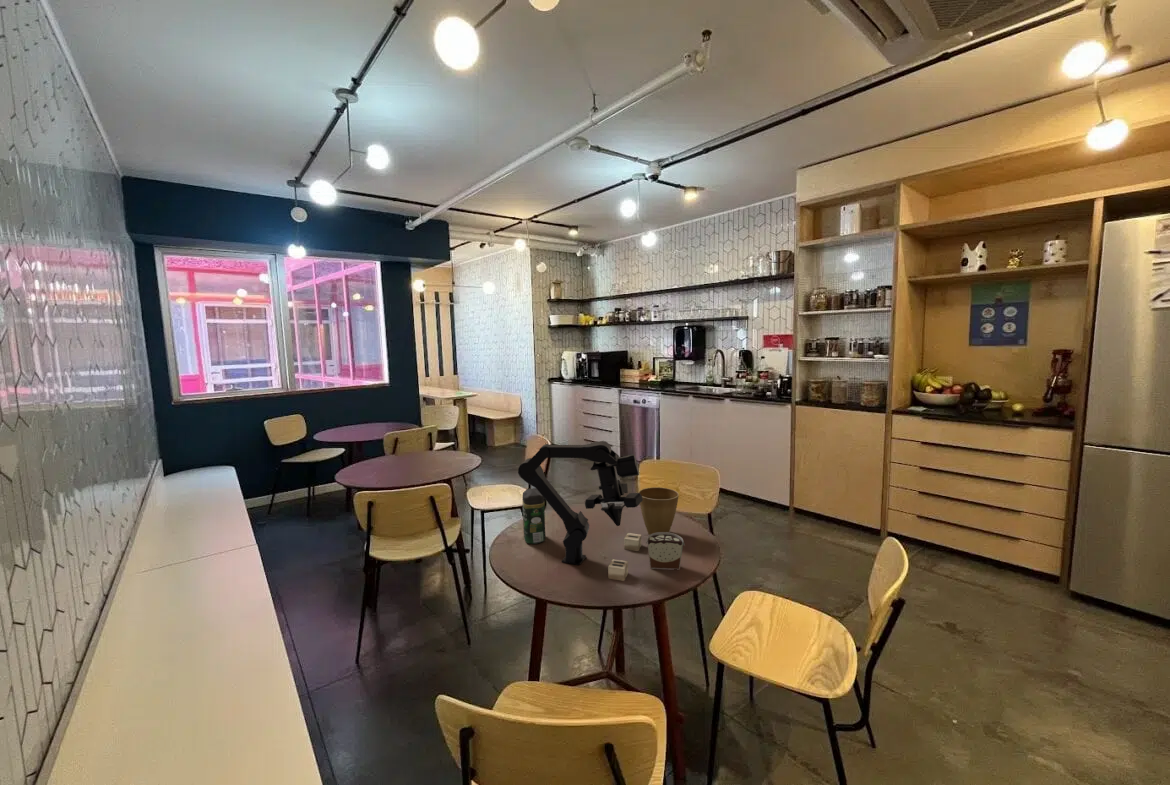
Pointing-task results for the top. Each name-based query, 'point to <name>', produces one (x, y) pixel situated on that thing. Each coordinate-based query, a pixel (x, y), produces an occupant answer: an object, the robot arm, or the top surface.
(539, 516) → the coffee jar
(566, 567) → the top surface
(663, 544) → the food container
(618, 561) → the numbered tile two
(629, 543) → the numbered tile one
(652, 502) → the plant pot
